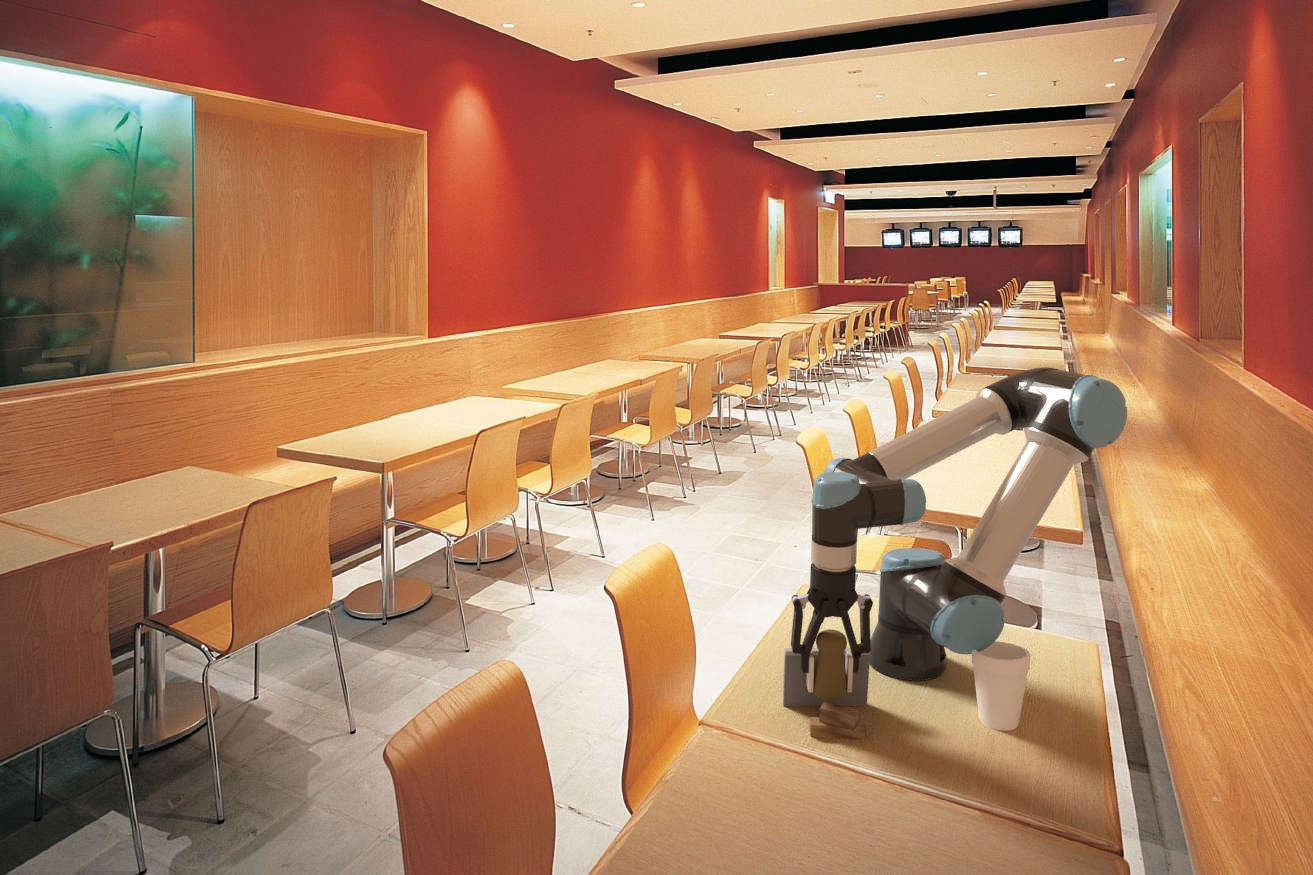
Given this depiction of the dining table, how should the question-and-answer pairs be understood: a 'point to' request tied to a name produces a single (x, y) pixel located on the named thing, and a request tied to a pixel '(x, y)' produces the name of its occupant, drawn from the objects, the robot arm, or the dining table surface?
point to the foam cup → (1000, 683)
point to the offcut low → (835, 730)
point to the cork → (830, 666)
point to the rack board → (796, 679)
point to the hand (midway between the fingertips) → (828, 687)
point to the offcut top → (839, 716)
